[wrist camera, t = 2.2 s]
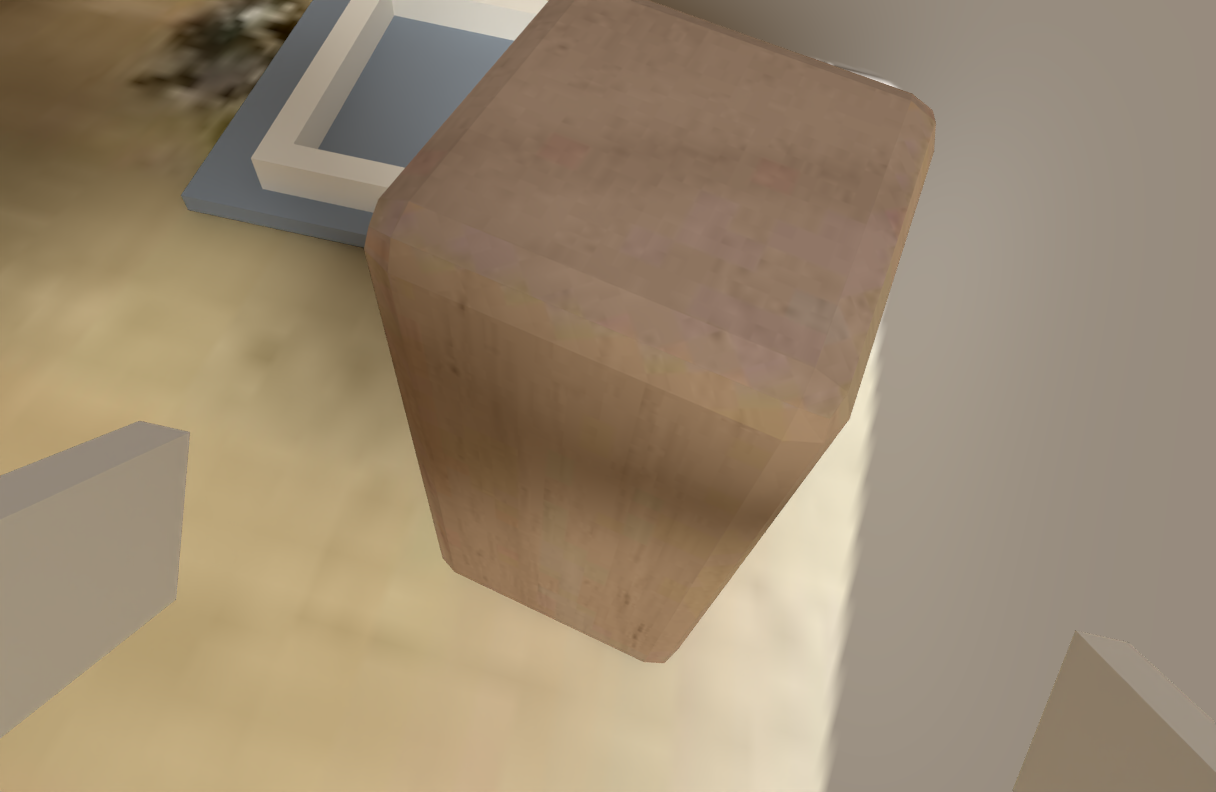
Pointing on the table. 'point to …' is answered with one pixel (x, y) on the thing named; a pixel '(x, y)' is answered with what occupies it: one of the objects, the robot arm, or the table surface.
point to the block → (638, 304)
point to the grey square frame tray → (350, 110)
